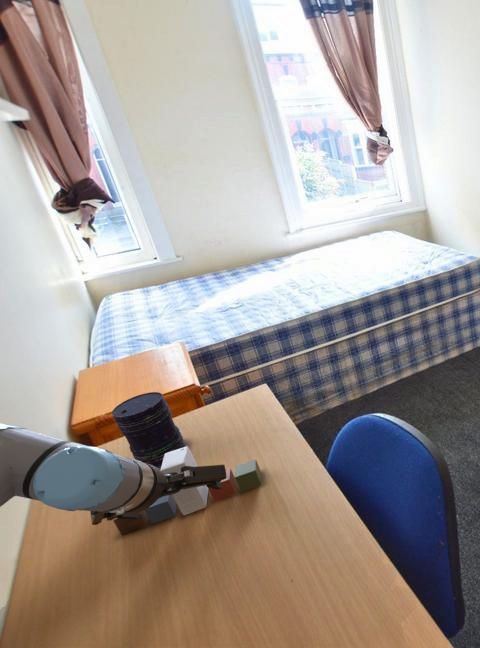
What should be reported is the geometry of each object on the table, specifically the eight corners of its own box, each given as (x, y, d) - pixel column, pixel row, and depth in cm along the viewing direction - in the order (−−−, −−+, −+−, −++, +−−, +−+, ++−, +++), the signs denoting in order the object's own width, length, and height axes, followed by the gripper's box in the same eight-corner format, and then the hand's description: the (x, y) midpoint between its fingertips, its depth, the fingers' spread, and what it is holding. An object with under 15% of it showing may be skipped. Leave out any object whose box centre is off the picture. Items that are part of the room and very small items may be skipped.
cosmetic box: (186, 497, 99) (164, 452, 94) (209, 489, 101) (188, 445, 96) (182, 517, 94) (158, 471, 89) (206, 508, 96) (184, 462, 91)
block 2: (151, 524, 93) (143, 509, 91) (155, 510, 96) (147, 496, 95) (175, 515, 95) (167, 501, 93) (178, 502, 98) (170, 488, 96)
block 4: (240, 492, 99) (234, 477, 97) (241, 480, 102) (235, 466, 101) (261, 484, 101) (255, 470, 99) (261, 473, 104) (255, 459, 102)
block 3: (214, 501, 97) (207, 487, 96) (215, 489, 101) (209, 475, 99) (235, 494, 99) (229, 479, 97) (236, 482, 102) (230, 467, 100)
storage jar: (172, 438, 119) (148, 388, 114) (195, 446, 115) (172, 395, 109) (129, 463, 111) (102, 412, 105) (152, 474, 107) (125, 421, 101)
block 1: (121, 535, 91) (112, 520, 90) (126, 521, 95) (118, 506, 93) (145, 526, 93) (137, 511, 91) (150, 512, 96) (142, 498, 94)
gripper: (22, 549, 65) (100, 545, 84) (223, 478, 75) (253, 489, 93) (19, 495, 68) (96, 504, 86) (214, 433, 77) (245, 453, 96)
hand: (178, 496), depth 90 cm, fingers open, 13 cm apart
